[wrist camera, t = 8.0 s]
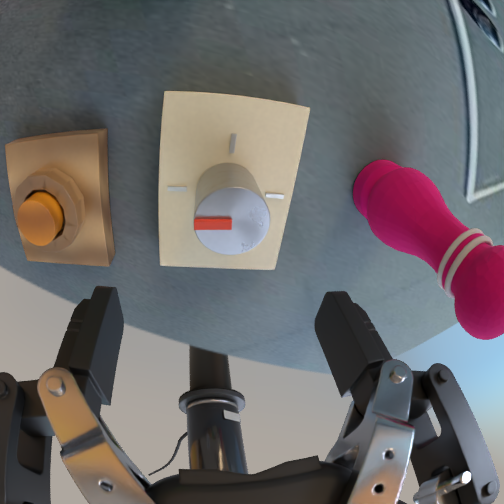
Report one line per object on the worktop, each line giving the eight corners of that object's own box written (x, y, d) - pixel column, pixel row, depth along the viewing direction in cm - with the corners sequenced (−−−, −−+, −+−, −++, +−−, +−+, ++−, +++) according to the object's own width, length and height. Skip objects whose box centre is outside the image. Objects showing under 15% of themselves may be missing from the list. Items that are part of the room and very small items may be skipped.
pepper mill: (389, 140, 22) (574, 263, 5) (414, 193, 25) (549, 319, 9) (334, 184, 24) (491, 365, 7) (366, 233, 27) (482, 390, 11)
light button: (67, 235, 19) (59, 247, 17) (32, 234, 18) (23, 245, 16) (60, 190, 17) (50, 199, 15) (23, 192, 16) (12, 201, 14)
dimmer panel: (268, 251, 27) (275, 271, 24) (164, 246, 25) (159, 267, 22) (297, 105, 19) (311, 108, 17) (170, 90, 17) (163, 91, 15)
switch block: (115, 253, 24) (104, 279, 21) (36, 249, 22) (19, 271, 19) (107, 128, 18) (88, 137, 15) (17, 138, 16) (-8, 150, 13)
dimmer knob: (259, 163, 19) (276, 189, 14) (253, 218, 21) (267, 257, 17) (196, 162, 18) (192, 188, 14) (196, 218, 20) (194, 258, 16)
